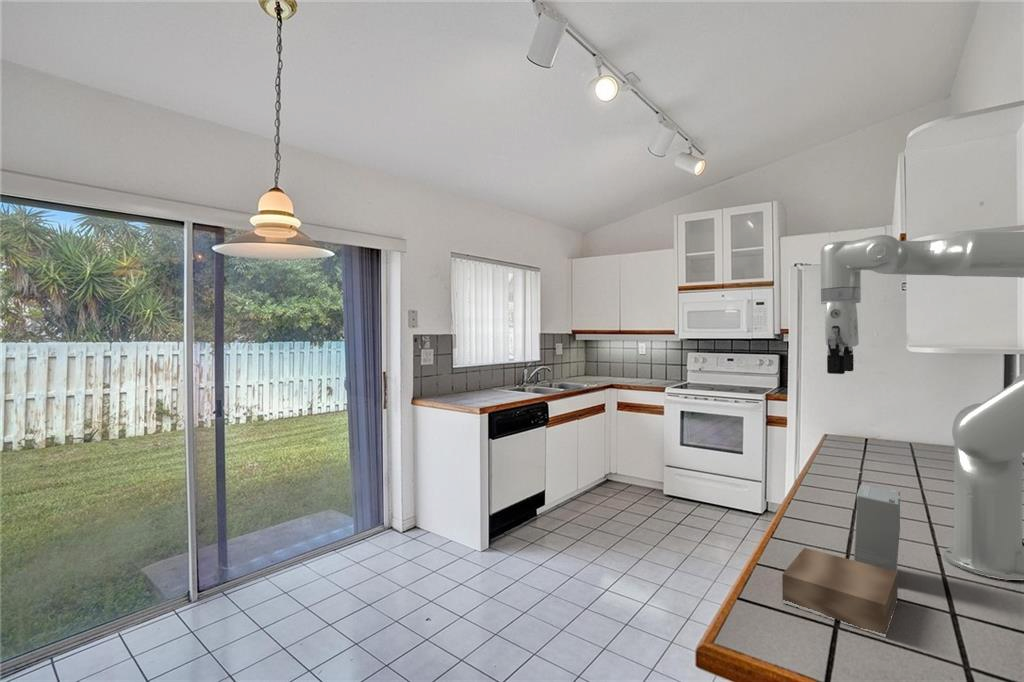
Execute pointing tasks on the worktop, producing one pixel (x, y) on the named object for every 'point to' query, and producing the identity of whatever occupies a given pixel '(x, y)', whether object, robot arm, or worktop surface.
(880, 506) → the skincare box
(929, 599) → the worktop surface
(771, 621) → the worktop surface
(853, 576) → the walnut box
